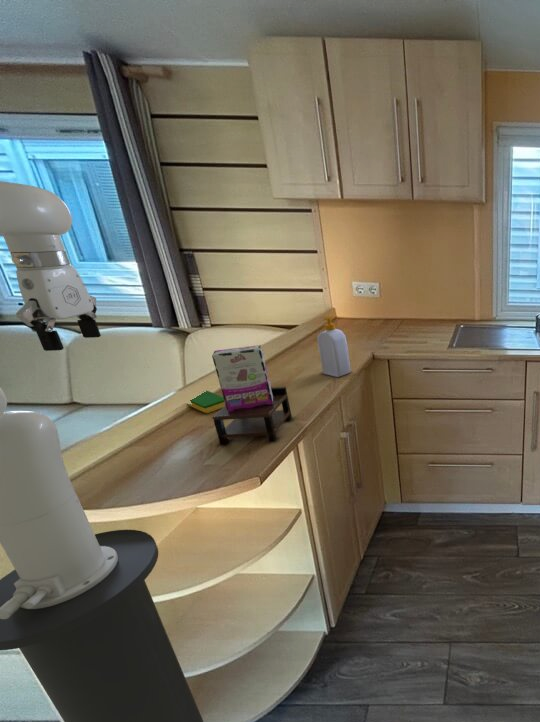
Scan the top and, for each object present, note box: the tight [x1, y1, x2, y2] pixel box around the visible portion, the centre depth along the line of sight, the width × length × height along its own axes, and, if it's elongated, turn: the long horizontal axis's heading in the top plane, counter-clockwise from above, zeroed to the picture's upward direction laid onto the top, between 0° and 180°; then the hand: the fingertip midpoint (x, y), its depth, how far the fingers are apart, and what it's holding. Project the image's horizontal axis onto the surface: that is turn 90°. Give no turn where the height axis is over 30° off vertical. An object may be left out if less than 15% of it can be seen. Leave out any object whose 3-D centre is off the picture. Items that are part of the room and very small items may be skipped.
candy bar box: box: [211, 344, 273, 412], centre depth 110 cm, size 11×5×16 cm, turn 117°
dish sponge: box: [187, 390, 226, 414], centre depth 133 cm, size 7×14×2 cm, turn 59°
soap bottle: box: [317, 315, 352, 378], centre depth 157 cm, size 9×7×23 cm
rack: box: [212, 386, 293, 446], centre depth 115 cm, size 14×14×10 cm
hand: (74, 343), depth 87 cm, fingers open, 9 cm apart
